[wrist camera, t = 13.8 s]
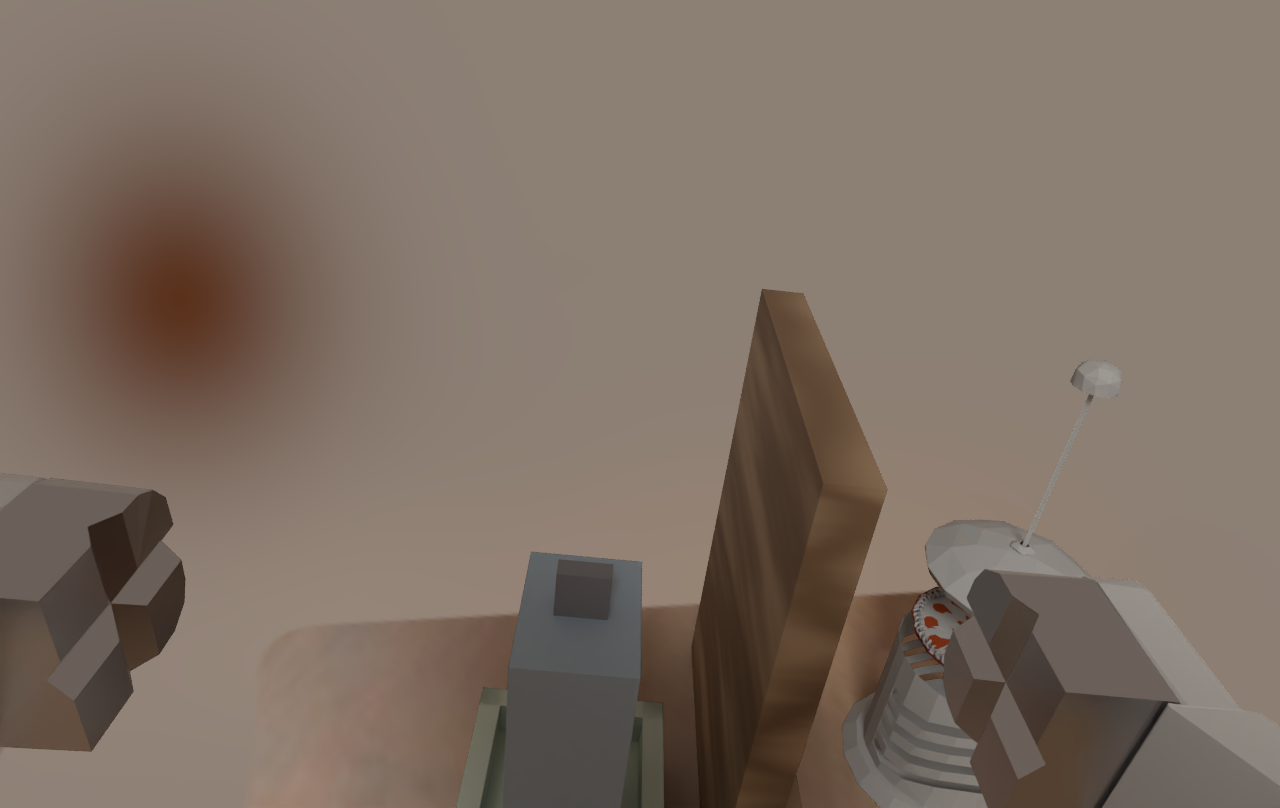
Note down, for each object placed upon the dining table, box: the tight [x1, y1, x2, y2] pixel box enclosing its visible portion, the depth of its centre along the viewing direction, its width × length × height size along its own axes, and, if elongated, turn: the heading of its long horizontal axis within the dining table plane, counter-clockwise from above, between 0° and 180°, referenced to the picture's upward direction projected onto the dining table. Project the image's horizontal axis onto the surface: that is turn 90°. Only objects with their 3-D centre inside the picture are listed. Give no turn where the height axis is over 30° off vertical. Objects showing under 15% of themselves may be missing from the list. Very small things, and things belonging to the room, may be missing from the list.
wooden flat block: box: [692, 289, 887, 808], centre depth 38 cm, size 5×16×24 cm, turn 179°
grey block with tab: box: [503, 552, 642, 808], centre depth 33 cm, size 4×6×15 cm
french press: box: [843, 360, 1122, 808], centre depth 39 cm, size 10×12×25 cm
